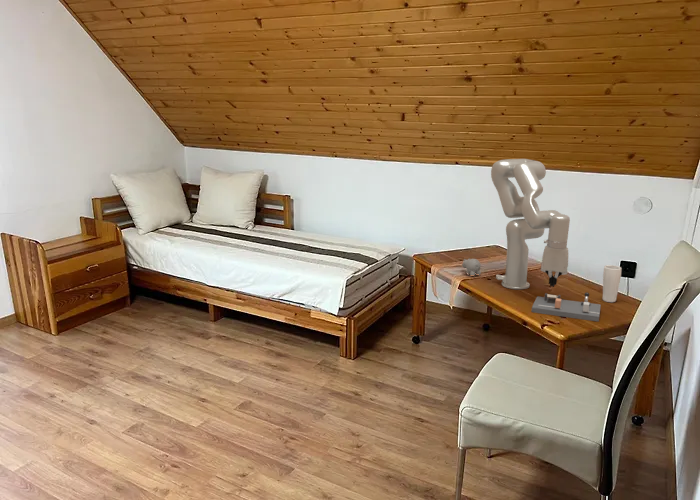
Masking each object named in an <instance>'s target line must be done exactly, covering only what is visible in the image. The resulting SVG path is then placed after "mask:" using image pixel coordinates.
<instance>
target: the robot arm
mask: <svg viewBox="0 0 700 500" xmlns="http://www.w3.org/2000/svg"><path fill="white" fill-rule="evenodd" d="M546 170H547V169H546V166H545V165H544V164H543V163H542V162H541V161H538V160H534V159H528V158H513V159H512V158H511V159H508V158H507V159H499V160H497V161H495V162H494V163H493V164H492V167H491V170H490V178H491V181H492V183H493V186H494V188H495V189H496V192H497V194H498V197H499V201H500V204H501V207H502V210H503V214H504V215H505V217H507V218H508V219H513V220H510V221H509V222H507V224H506V226H505V234H506V243H507V244H506V260H505V261H506V264H505V274H503V275H501V274H496V275H495V279H497V280H498V281H501V285H502V287H504V288H507V289H511V290H526V289H528V288H530V285H531V284H530V283H529V282H528V281H527V277H528V265H529V247H528V245H527V242H526V241H527V240H533V239H538V238H541V237H542V236H543V235H544V233H545V229H548V235H547V239H544V240H543V244H546V245H545V246H544V250H543V253H542V258H541V267H540V271H541V272H543V273H545V274H546V275H547V276H548V277H549V278H548V284H549V287H552V288H555V286H556V285H557V282H558V278H559V277H560V276H562V275H563V276H564V275H566V276H567V275H568V273H569V272H568V267H569V248H568V247H567V245H568V237H569V229H570V221H571V220H570V216H569V215H567V214H563V213H561V212H559V211H557V210H556V209H555V210H553V209H549V210H548V209H547V210H540V208H539V205H538V202H537V201H536V198H539V197H540V196H541V195H542V193H543V192H544V186H543V185H542V183H541V182H540V181H541V180H543V179H544V178H545V176H546V174H547V171H546ZM510 178H511V179H512V178H514V179H515V181H516V183H517V185H518V187H519V189H520V192H521V193H522V194H523V196H520V195H519V192H518V188H517V187H516V185H515V183H513V182H512V180H510ZM553 272H555V274H553Z"/></svg>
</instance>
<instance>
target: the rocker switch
mask: <svg viewBox="0 0 700 500" xmlns="http://www.w3.org/2000/svg"><path fill="white" fill-rule="evenodd" d="M547 298H554V299H556V298H558V295H555V294H548V293H547Z"/></svg>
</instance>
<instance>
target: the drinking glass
mask: <svg viewBox="0 0 700 500" xmlns="http://www.w3.org/2000/svg"><path fill="white" fill-rule="evenodd" d="M621 278H622V266H619V265H613V264H612V265H611V264H608V265H604V267H603V274H602V301H603V302H606V303H615V302H616V301H617V298H618V292H619V287H620V283H621Z"/></svg>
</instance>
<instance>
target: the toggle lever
mask: <svg viewBox="0 0 700 500" xmlns="http://www.w3.org/2000/svg"><path fill="white" fill-rule="evenodd" d="M589 296H590V293H589V292H585V293H584V302H589Z"/></svg>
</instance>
